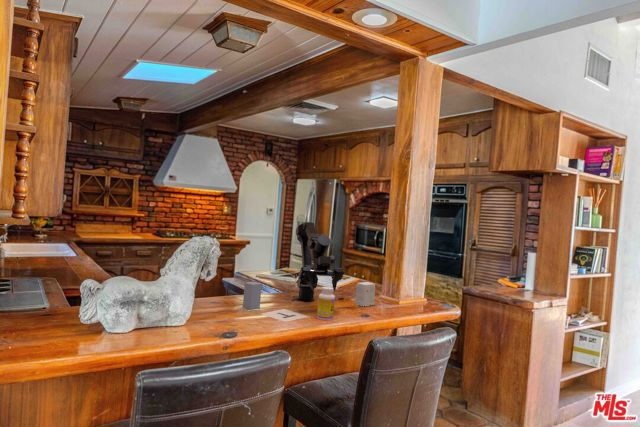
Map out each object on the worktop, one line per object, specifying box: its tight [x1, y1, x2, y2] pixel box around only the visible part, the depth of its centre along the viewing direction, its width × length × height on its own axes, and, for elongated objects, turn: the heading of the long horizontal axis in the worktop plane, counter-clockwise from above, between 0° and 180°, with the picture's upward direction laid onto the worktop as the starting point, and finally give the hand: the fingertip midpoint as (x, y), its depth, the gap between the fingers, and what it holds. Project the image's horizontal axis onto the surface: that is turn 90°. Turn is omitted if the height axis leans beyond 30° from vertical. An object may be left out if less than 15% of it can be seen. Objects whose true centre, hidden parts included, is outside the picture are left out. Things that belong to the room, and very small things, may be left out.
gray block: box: [242, 281, 263, 311], centre depth 179 cm, size 5×5×11 cm
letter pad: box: [260, 308, 310, 323], centre depth 172 cm, size 14×14×1 cm
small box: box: [354, 281, 376, 308], centre depth 206 cm, size 8×6×10 cm
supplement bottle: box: [316, 286, 336, 321], centre depth 173 cm, size 7×7×13 cm
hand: (324, 290), depth 177 cm, fingers open, 9 cm apart
